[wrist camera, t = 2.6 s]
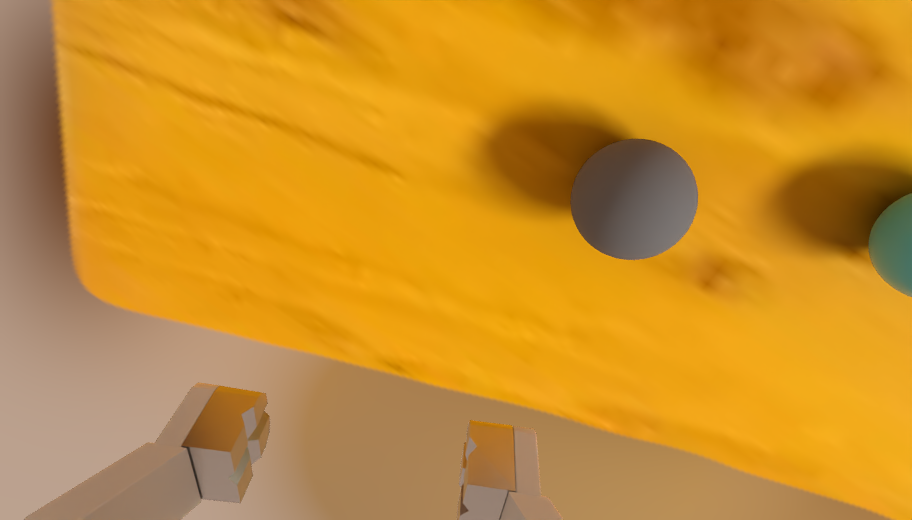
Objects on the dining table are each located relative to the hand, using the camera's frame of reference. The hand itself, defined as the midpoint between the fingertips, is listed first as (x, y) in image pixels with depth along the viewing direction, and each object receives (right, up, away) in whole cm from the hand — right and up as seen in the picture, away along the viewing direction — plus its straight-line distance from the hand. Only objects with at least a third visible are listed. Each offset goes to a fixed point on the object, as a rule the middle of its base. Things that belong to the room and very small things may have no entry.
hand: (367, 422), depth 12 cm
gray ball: (+10, +7, +12) cm, 17 cm away
